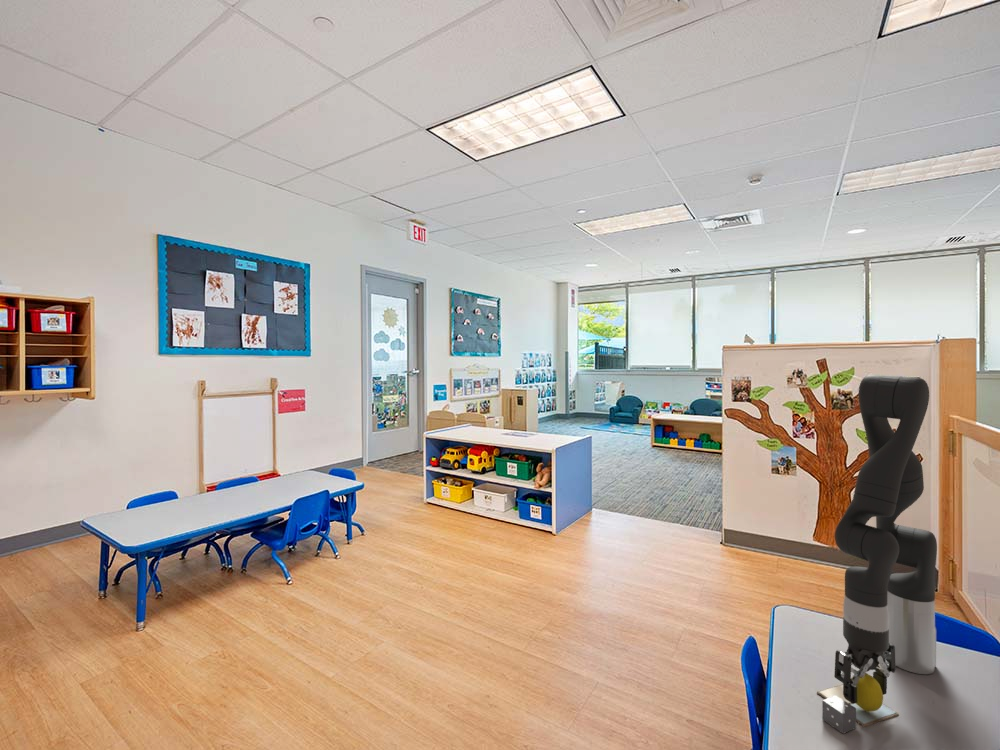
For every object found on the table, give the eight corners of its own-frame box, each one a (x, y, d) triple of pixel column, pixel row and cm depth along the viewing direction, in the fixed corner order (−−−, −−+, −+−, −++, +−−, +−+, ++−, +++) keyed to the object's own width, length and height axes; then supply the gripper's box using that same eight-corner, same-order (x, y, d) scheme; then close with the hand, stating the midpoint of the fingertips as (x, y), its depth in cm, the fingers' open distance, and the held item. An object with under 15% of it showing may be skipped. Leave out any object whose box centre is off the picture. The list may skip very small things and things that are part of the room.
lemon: (889, 722, 93) (889, 683, 93) (858, 718, 94) (858, 680, 94) (873, 703, 99) (873, 666, 99) (844, 699, 100) (843, 663, 100)
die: (835, 694, 96) (856, 708, 92) (835, 714, 96) (856, 728, 93) (822, 699, 95) (843, 713, 91) (822, 719, 95) (843, 734, 91)
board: (849, 683, 105) (849, 681, 105) (898, 715, 96) (898, 713, 96) (816, 693, 103) (816, 691, 103) (863, 726, 93) (863, 724, 93)
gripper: (859, 636, 90) (859, 717, 91) (909, 623, 95) (909, 701, 95) (822, 616, 98) (822, 691, 98) (871, 605, 102) (870, 677, 102)
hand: (865, 696), depth 96 cm, fingers open, 8 cm apart
